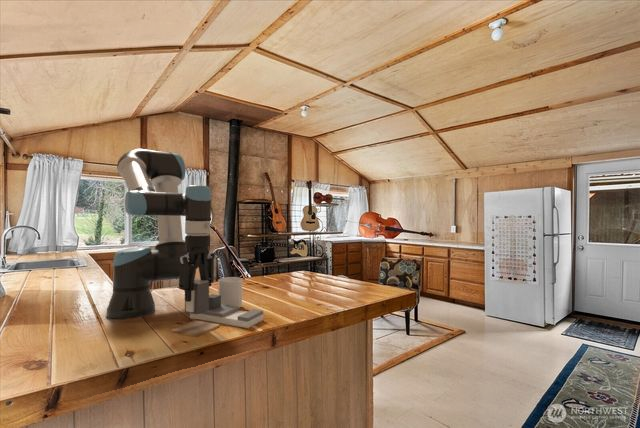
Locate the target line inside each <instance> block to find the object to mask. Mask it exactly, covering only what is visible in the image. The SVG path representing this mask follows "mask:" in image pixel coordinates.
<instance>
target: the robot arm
mask: <svg viewBox="0 0 640 428" xmlns="http://www.w3.org/2000/svg"><path fill="white" fill-rule="evenodd" d="M116 168H117V171H118V174H119V175H120V177H122V178H123V179H124V182H125V185H126V187H127V190H128V191H127V192H126V193H125V197H124V198H125V199H124V208H125V212H126V213H125V214H127V215H130V216H131V215H132V216H139V217H141V216H157V218H156V219H157V230H158V231H157V232H158V242H157V243H156V244H155V246H154V249H152V248H151V246H146V245H145V246H135V247H129V248H124V249H121V250H117V251H116V252H115V253H114V255H113V263H112V267H113V269H112V270H113V273H112V274H113V277H112V295H111V296H110V299H109V302H108V305H107V308H106V317H108V318H110V319H116V320H118V319H120V320H121V319H123V320H124V319H133V318H139V317H144V316H146V315H149V314H152V313H154V312H155V311H156V303H155V301H154V297H153V295H152V292H151V282H160V281H167V280H178V289H179V290H182V291H184V302H185V301H186V311H187V312H194V295H195V290H192V289H193V284H194V280H196V279H195V278H196V273H197V269H198V272H199V280H208V282H209V287H211V286H212V284H213V283H214V281H215V280H214V279H215V277H214V276H215V275H214V274H215V272H214V271H215V266H214V265H215V256H216V253H215V252H210V250H209V248H210V247H211V236H210V234H211V221H212V219H211V217H212V215H211V213H212V212H211V211H212V209H211V208H212V198H213V197H212V191H211V188H210V186H208V185H207V186H206V185H199V184H197V185H195V184H193V185H187V186H186V187H185V192H183V193H181V192H179V186H180V185H181V184H182V181H184V179H185V178H186V164H185V160H184V159H183V156H182V155H180V154H178V153H175V152H171V151H162V150H161V151H160V150H159V151H158V150H151V149H146V148H145V149H143V148H136V149H131V150H128V151H127V152H126V153H124V154H122V156H120V158H119V159H118V161H117V164H116ZM182 217H185V219H184V220H185V223H184V234H185V237H184V236H183V229H182V227H183V226H182ZM183 237H184V238H183ZM188 285H189V286H188Z"/></svg>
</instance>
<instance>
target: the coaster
mask: <svg viewBox="0 0 640 428" xmlns="http://www.w3.org/2000/svg"><path fill="white" fill-rule="evenodd" d="M220 326H221V323H215V322H210V321H204V320H199V319H195V320H192V321H191V322H190V321H189V322H188V323H185V324H183V325H180V326H177V327H175V328H172V329H171V333H174V334H175V333H176V334H182V335H186V336H189V337H190V336H191V337H196V338H197V337H200V336H201V335H204V334H207V333H209V332H210V331H213V330H215V329H217V328H219V327H220Z"/></svg>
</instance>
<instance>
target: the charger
mask: <svg viewBox="0 0 640 428" xmlns="http://www.w3.org/2000/svg"><path fill="white" fill-rule="evenodd" d="M188 286H189V285H188ZM192 290H195V295H194V312H187V311H186V301H185V300H184V313H186V314H190V313H191V314H200V313H203V312H205V311H208V310H209V295H210V286H209V282H208V280H201V279H198V278H197V279H194V284H193V289H192Z"/></svg>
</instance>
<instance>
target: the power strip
mask: <svg viewBox="0 0 640 428" xmlns="http://www.w3.org/2000/svg"><path fill="white" fill-rule="evenodd" d="M189 318H190V319H195V320H199V321H204V322H210V323H215V324H221V325H228V326H234V327H239V328H245V329H249V328H250V327H252V325H253V326H255V325H257V324H258V323H260V322H263V320H264V310H262V309H255V308H253V309H251V310H248V311H246V310H241V309H240V308H239V307H236V306H230V305H223V304H221V295H218V294H214V293H211V294H209V310H208V311H205V312H203V313H200V314H191V313H189Z"/></svg>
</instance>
